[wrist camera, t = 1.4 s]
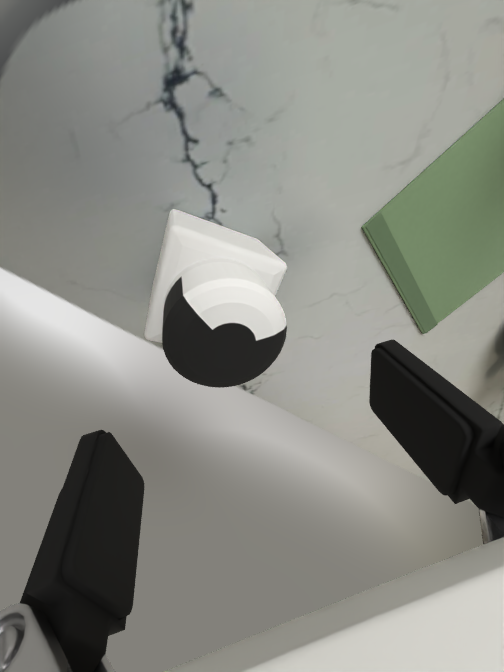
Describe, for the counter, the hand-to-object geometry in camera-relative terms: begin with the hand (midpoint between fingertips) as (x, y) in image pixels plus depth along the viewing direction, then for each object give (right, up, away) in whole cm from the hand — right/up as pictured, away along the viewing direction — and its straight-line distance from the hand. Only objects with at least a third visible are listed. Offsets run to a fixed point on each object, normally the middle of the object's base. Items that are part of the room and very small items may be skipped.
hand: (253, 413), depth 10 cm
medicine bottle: (-4, +8, +13) cm, 16 cm away
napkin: (+20, +12, +17) cm, 29 cm away
